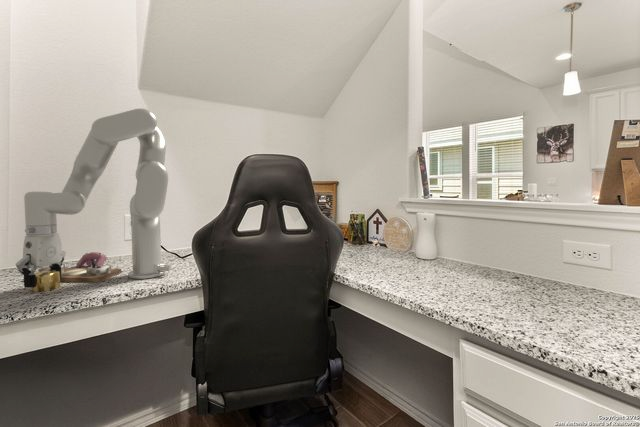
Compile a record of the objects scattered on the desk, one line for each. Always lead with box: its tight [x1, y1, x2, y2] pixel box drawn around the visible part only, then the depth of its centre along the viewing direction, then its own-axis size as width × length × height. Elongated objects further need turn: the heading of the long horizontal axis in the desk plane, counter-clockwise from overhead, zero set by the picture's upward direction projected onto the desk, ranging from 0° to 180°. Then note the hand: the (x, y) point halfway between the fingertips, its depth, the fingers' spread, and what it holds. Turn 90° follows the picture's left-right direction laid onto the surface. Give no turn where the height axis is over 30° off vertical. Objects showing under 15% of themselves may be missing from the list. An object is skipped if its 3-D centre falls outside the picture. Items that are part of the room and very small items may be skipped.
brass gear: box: [29, 270, 61, 293], centre depth 103 cm, size 7×7×5 cm
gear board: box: [37, 259, 123, 283], centre depth 116 cm, size 26×12×6 cm, turn 91°
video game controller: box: [76, 251, 108, 268], centre depth 131 cm, size 10×5×7 cm, turn 85°
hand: (43, 282), depth 103 cm, fingers open, 9 cm apart
